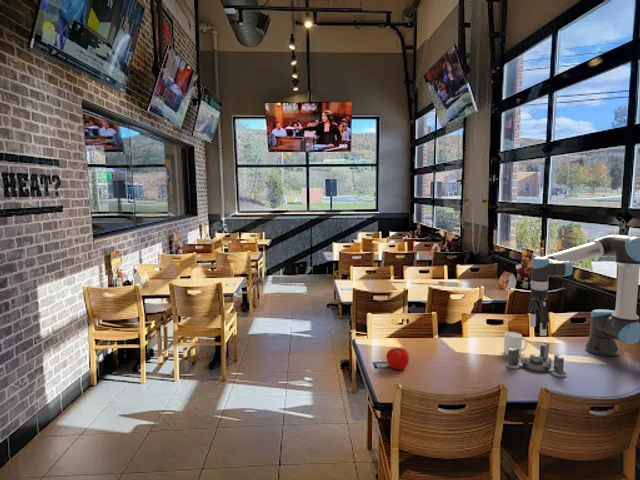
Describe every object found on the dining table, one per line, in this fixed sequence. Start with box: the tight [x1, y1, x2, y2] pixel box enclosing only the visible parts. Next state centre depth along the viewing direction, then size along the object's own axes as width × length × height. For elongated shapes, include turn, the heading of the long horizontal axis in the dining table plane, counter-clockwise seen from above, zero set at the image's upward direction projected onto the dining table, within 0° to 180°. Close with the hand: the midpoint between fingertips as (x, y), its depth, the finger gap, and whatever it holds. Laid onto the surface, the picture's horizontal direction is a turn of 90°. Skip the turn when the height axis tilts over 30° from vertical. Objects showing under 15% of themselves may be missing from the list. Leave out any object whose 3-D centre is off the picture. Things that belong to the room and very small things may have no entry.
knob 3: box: [553, 353, 565, 374], centre depth 207 cm, size 6×2×8 cm, turn 172°
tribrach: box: [505, 353, 567, 378], centre depth 217 cm, size 25×24×6 cm
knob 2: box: [539, 340, 550, 360], centre depth 224 cm, size 6×2×8 cm, turn 134°
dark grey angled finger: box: [507, 347, 520, 366], centre depth 218 cm, size 6×2×8 cm, turn 125°
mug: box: [503, 331, 528, 356], centre depth 235 cm, size 9×12×11 cm
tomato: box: [385, 347, 410, 370], centre depth 219 cm, size 11×13×10 cm
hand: (537, 330), depth 215 cm, fingers open, 13 cm apart
